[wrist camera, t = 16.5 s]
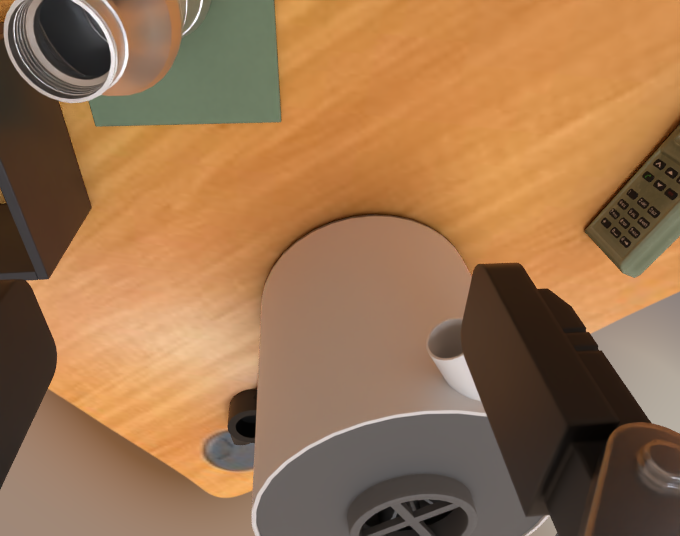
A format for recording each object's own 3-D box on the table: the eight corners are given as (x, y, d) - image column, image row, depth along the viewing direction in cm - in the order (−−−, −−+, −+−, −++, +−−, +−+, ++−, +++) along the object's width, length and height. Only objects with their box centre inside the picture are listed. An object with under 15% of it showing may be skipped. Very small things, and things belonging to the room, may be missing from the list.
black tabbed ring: (309, 404, 61) (310, 425, 58) (243, 438, 63) (241, 459, 61) (268, 369, 57) (267, 389, 54) (199, 407, 59) (196, 428, 57)
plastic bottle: (111, 15, 35) (-37, 119, 19) (117, -103, 31) (-60, -101, 15) (207, 43, 36) (149, 162, 20) (224, -66, 33) (169, -28, 16)
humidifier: (214, 273, 48) (172, 514, 30) (414, 165, 44) (515, 368, 25) (328, 397, 60) (349, 625, 41) (495, 322, 56) (605, 540, 37)
